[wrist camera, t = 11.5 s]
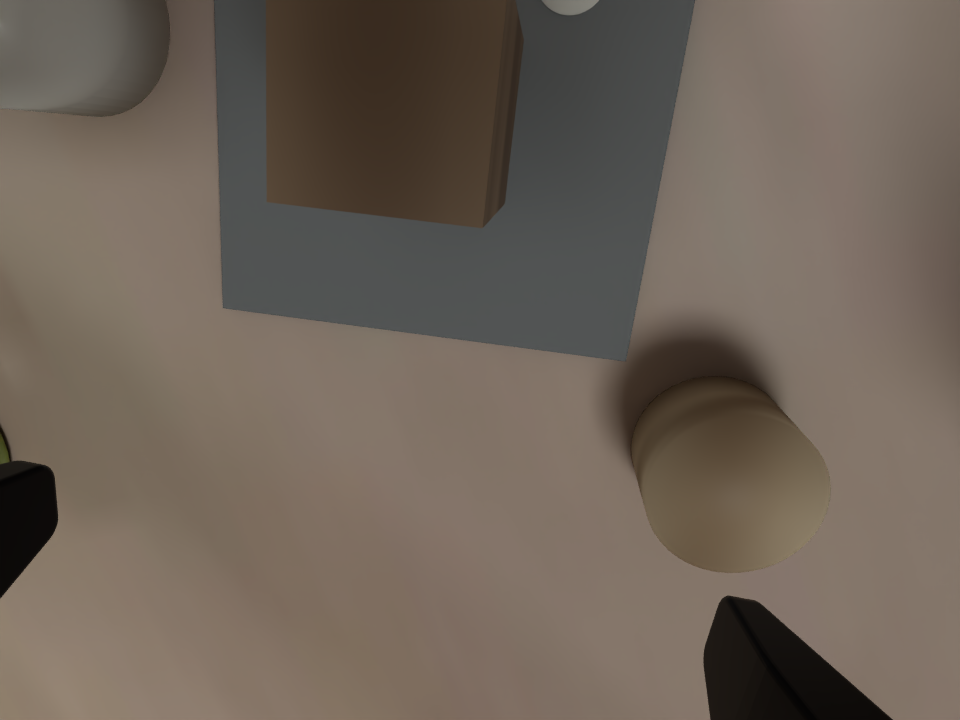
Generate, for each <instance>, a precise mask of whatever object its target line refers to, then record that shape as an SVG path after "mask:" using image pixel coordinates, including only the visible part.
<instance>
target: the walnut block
mask: <svg viewBox="0 0 960 720" xmlns="http://www.w3.org/2000/svg"><path fill="white" fill-rule="evenodd" d="M523 44H524V38H523V34H522V29H521V24H520V20H519V15H518V10H517V6H516V1H515V0H266V178H267V202H269V203H277V204H286V205H294V206H302V207H310V208H319V209H327V210H335V211H343V212H352V213H360V214H368V215H376V216H385V217H393V218H401V219H409V220H418V221H426V222H434V223H442V224H451V225H459V226H467V227H475V228H483V227H484V226H485V225H486V224H487V223H488V222H489V221H490V220H491V219H492V217H493V216H494V215H495V214H496V213H497V212H498V211H499V210H500V209H501V208H502V207H503V205H504V204H505V198H506V190H507V181H508V173H509V164H510V155H511V147H512V138H513V130H514V121H515V112H516V104H517V95H518V87H519V78H520V69H521V61H522V52H523Z"/></svg>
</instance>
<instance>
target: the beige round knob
mask: <svg viewBox="0 0 960 720" xmlns="http://www.w3.org/2000/svg"><path fill="white" fill-rule="evenodd" d="M631 456H632V462H633V466H634V470H635V473H636V477H637V481H638V484H639V488H640V492H641V495H642V499H643V503H644V506H645V510H646V514H647V517H648V520H649V523H650V525H651V527H652V529H653V531H654V533H655V535H656V536H657V538H658V539H659V540H660V542H661V543H662V544H663V545H664V546H665V547H666V548H667V549H668V550H669V551H670V552H672V553H673V554H674V555H675V556H677V557H678V558H680V559H682V560H683V561H685V562H687V563H689V564H691V565H694V566H696V567H699V568H702V569H706V570H710V571H715V572H725V573H740V572H749V571H754V570H758V569H763V568H766V567H769V566H771V565H774V564H776V563H778V562H781V561H783V560H785V559H786V558H788V557H789V556H791V555H793V554H794V553H796V552H797V551H798V550H799V549H801V548H802V547H803V546H804V545H805V544H806V543H807V542H808V541H809V540H810V539H811V538H812V537H813V535H814V534H815V533H816V532H817V530H818V529H819V527H820V525H821V523H822V522H823V520H824V517H825V515H826V512H827V510H828V505H829V501H830V492H831V488H830V478H829V473H828V469H827V467H826V464H825V462H824V460H823V458H822V456H821V455H820V453H819V451H818V450H817V449H816V447H815V446H814V445H813V444H812V443H811V442H810V440H809V439H808V438H807V437H806V436H805V435H804V434H803V433H802V432H801V431H800V430H799V428H798V427H797V426H796V425H795V424H794V423H793V422H792V421H791V420H790V419H789V418H788V416H787V415H786V414H785V413H784V412H783V411H782V410H781V409H780V408H779V407H778V405H777V404H776V403H775V402H774V401H773V400H772V399H771V398H770V397H769V396H768V395H767V394H765V393H764V392H763V391H762V390H760V389H759V388H757V387H755V386H753V385H751V384H749V383H747V382H745V381H742V380H738V379H735V378H730V377H722V376H707V377H700V378H694V379H690V380H687V381H684V382H681V383H679V384H677V385H674V386H673V387H671V388H669V389H667V390H666V391H664V392H663V393H661V394H660V395H659V396H657V397H656V398H655V399H654V400H653V401H652V402H651V403H650V404H649V405H648V406H647V408H646V409H645V410H644V411H643V413H642V415H641V416H640V418H639V420H638V422H637V424H636V427H635V429H634V433H633V436H632V443H631Z"/></svg>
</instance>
